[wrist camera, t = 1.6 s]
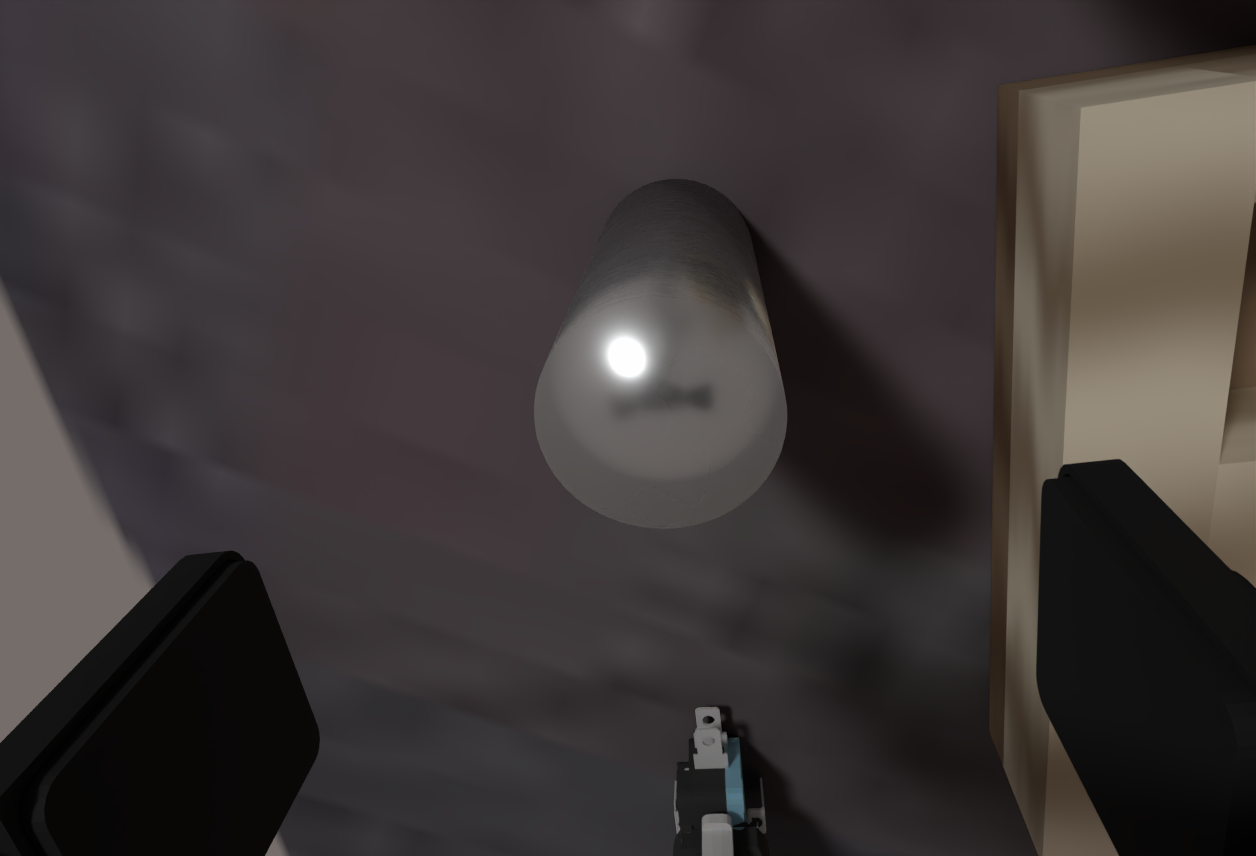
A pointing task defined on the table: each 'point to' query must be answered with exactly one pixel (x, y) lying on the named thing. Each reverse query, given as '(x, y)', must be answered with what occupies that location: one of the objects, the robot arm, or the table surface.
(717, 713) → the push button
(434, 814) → the table surface
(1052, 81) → the socket block
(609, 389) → the pin
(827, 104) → the table surface
